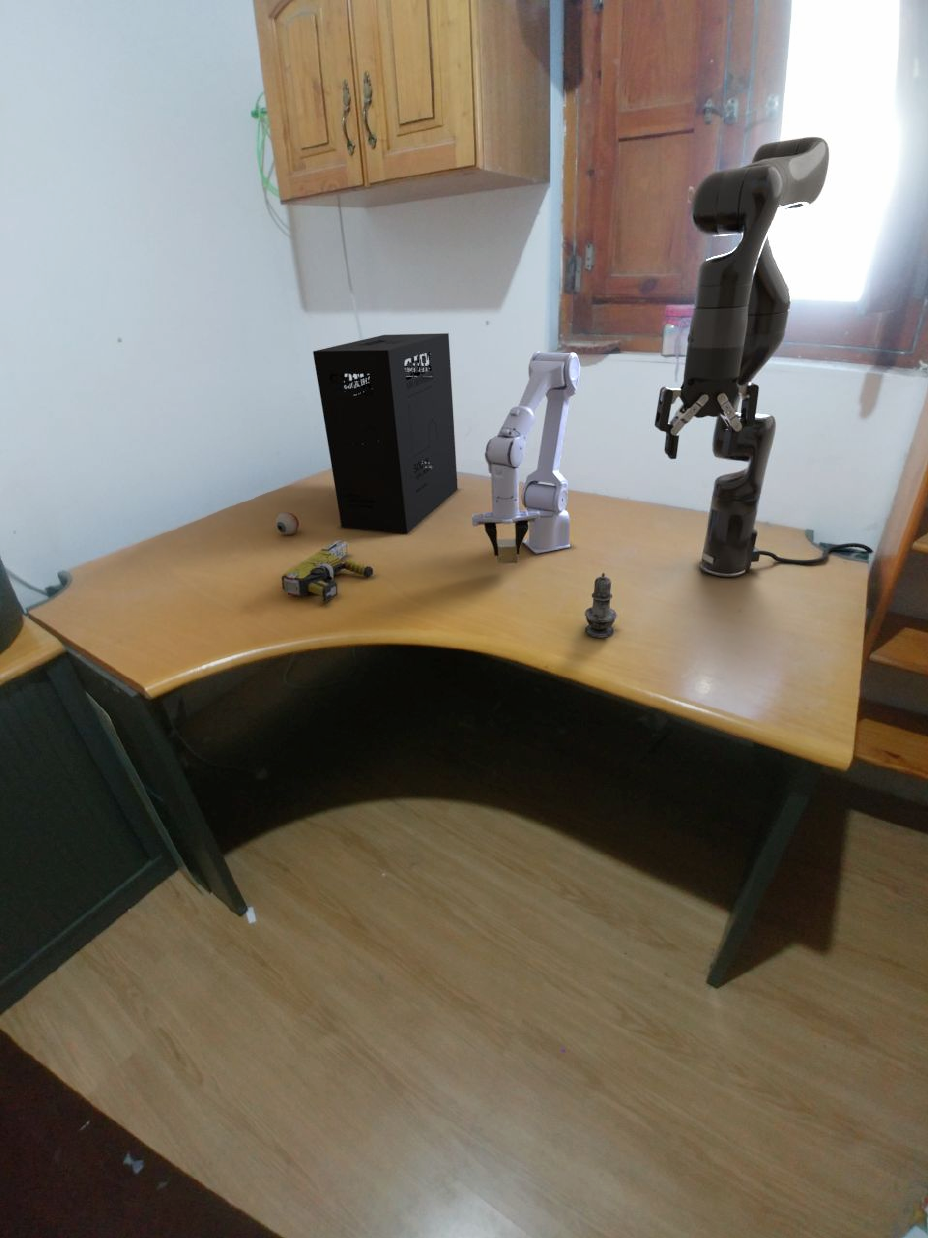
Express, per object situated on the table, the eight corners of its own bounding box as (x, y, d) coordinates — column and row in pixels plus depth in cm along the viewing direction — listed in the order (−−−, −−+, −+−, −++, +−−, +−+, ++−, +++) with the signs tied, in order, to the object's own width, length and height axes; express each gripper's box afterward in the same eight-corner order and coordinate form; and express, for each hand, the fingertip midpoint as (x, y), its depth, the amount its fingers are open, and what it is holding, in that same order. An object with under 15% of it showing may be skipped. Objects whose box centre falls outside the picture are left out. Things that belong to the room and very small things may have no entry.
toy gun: (389, 548, 145) (334, 537, 149) (339, 588, 125) (277, 575, 129) (389, 566, 147) (335, 555, 151) (340, 608, 127) (279, 595, 131)
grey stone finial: (615, 639, 110) (620, 580, 104) (583, 637, 112) (586, 579, 106) (615, 623, 115) (620, 566, 109) (584, 621, 117) (587, 565, 111)
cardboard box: (400, 485, 198) (384, 334, 175) (457, 489, 191) (448, 333, 169) (341, 526, 168) (312, 351, 145) (407, 533, 161) (388, 350, 139)
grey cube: (496, 556, 137) (496, 539, 135) (514, 554, 137) (514, 538, 135) (498, 564, 133) (498, 547, 131) (517, 562, 133) (516, 546, 131)
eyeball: (273, 537, 164) (268, 516, 161) (287, 528, 169) (282, 508, 166) (291, 539, 161) (286, 518, 158) (305, 530, 166) (301, 510, 163)
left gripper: (472, 503, 124) (474, 563, 131) (542, 498, 124) (541, 558, 131) (470, 492, 130) (473, 550, 137) (537, 488, 130) (536, 546, 137)
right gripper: (674, 348, 82) (660, 465, 90) (778, 342, 82) (755, 460, 90) (657, 342, 89) (646, 452, 97) (754, 336, 89) (735, 447, 97)
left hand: (506, 553), depth 135 cm, fingers closed on grey cube, 4 cm apart
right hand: (699, 456), depth 94 cm, fingers open, 8 cm apart
